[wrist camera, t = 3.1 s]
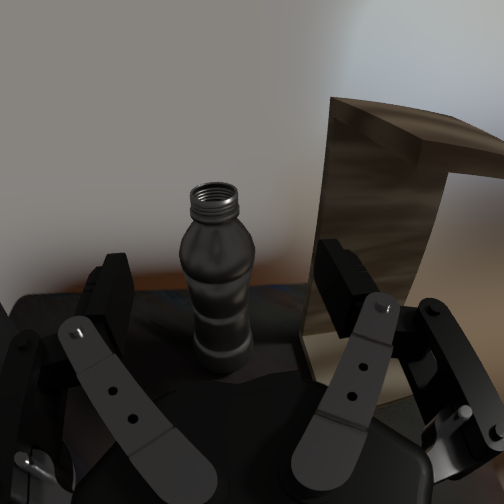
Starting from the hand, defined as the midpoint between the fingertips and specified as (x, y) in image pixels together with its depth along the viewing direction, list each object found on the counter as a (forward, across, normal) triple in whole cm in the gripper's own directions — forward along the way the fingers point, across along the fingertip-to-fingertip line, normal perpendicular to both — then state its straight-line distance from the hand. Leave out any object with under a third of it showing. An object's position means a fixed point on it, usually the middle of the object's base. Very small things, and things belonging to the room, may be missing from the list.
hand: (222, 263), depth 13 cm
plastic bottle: (+11, 0, +22) cm, 25 cm away
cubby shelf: (+8, -16, +22) cm, 28 cm away
